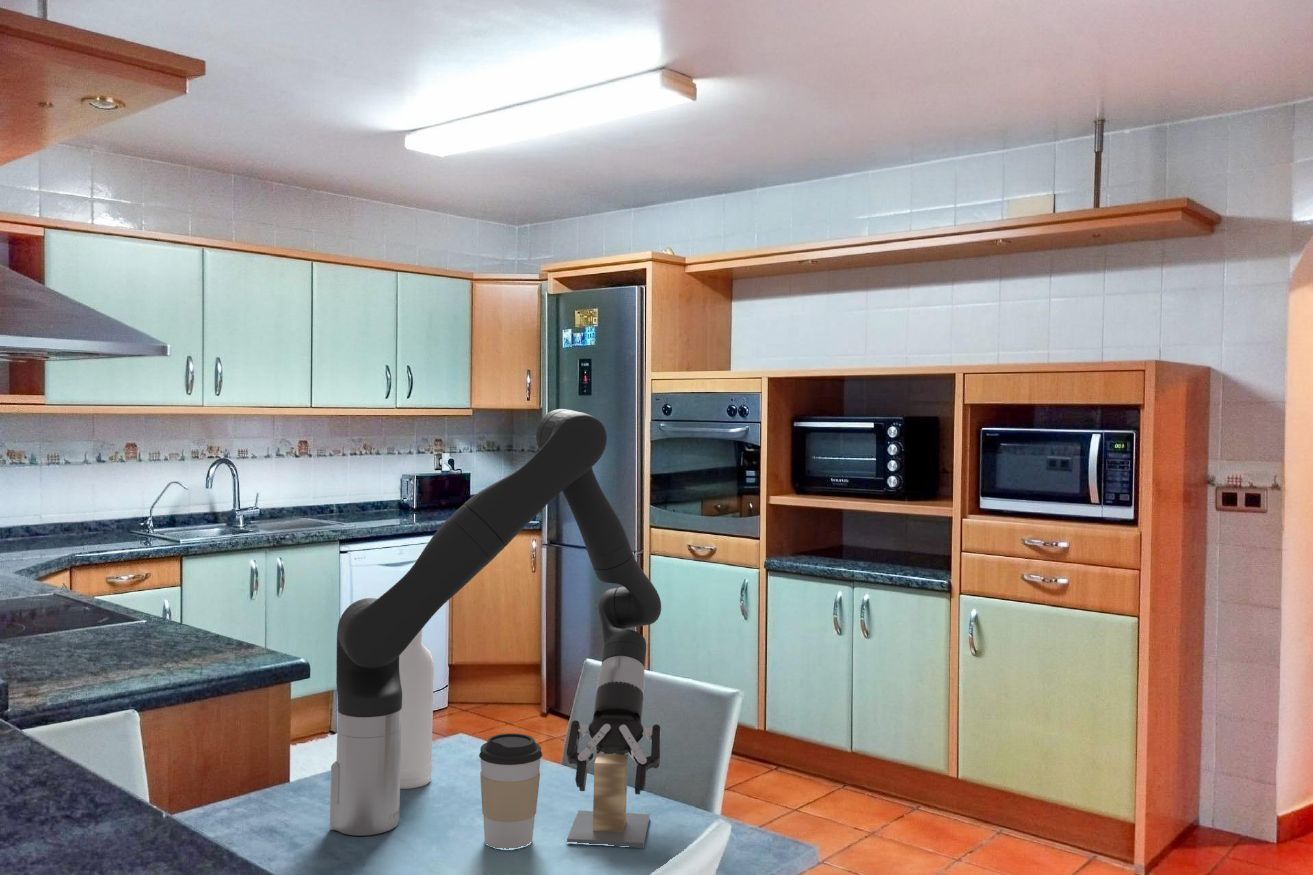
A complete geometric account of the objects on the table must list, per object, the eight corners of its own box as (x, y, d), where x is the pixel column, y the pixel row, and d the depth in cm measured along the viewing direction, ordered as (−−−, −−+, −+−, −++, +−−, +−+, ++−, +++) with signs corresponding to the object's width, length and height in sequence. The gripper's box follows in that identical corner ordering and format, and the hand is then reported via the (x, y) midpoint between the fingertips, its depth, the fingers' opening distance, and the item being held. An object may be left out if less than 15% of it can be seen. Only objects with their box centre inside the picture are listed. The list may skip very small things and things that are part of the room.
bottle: (394, 771, 175) (398, 597, 175) (438, 774, 174) (442, 599, 174) (375, 787, 167) (379, 604, 167) (421, 791, 166) (425, 607, 166)
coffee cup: (510, 823, 153) (513, 724, 153) (553, 840, 147) (555, 737, 147) (463, 841, 146) (466, 737, 146) (506, 859, 140) (509, 751, 140)
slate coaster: (567, 844, 146) (567, 838, 146) (578, 815, 157) (578, 810, 157) (643, 848, 145) (643, 842, 145) (649, 819, 156) (649, 814, 156)
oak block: (592, 830, 149) (594, 762, 149) (596, 819, 154) (598, 753, 154) (623, 832, 149) (625, 764, 149) (625, 820, 154) (627, 754, 153)
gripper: (573, 677, 159) (559, 776, 148) (664, 681, 158) (657, 781, 147) (577, 702, 164) (564, 799, 153) (665, 706, 163) (658, 804, 152)
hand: (609, 790), depth 150 cm, fingers open, 8 cm apart
